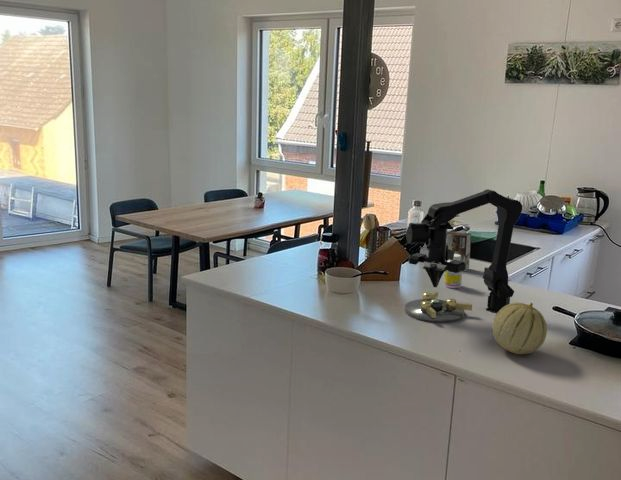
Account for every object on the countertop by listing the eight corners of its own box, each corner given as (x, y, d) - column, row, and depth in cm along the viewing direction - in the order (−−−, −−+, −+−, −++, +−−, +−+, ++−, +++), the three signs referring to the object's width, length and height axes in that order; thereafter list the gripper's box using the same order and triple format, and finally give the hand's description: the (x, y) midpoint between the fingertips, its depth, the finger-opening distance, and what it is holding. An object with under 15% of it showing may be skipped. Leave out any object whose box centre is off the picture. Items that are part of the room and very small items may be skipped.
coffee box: (469, 268, 256) (472, 233, 253) (464, 272, 251) (467, 235, 247) (449, 265, 261) (451, 230, 257) (444, 268, 256) (447, 233, 252)
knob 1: (428, 304, 202) (429, 295, 202) (420, 302, 204) (421, 293, 204) (440, 298, 209) (440, 290, 208) (432, 296, 211) (432, 288, 210)
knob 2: (419, 309, 197) (420, 301, 196) (428, 309, 197) (429, 300, 197) (429, 318, 189) (429, 309, 188) (438, 318, 189) (439, 309, 188)
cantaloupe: (480, 346, 172) (484, 298, 169) (518, 339, 178) (523, 292, 174) (515, 366, 159) (520, 314, 155) (555, 357, 164) (561, 307, 161)
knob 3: (445, 310, 197) (446, 301, 196) (445, 306, 200) (446, 298, 199) (472, 312, 195) (472, 303, 195) (471, 309, 198) (472, 300, 198)
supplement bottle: (448, 282, 235) (450, 252, 232) (464, 286, 231) (466, 254, 228) (441, 286, 230) (443, 255, 227) (456, 289, 225) (458, 258, 223)
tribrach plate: (474, 312, 200) (475, 300, 199) (444, 327, 186) (445, 314, 185) (424, 299, 214) (425, 288, 213) (393, 312, 199) (394, 300, 198)
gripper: (474, 242, 193) (471, 287, 196) (425, 234, 205) (423, 276, 208) (458, 248, 184) (455, 294, 188) (408, 239, 197) (407, 283, 200)
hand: (435, 287), depth 196 cm, fingers closed
